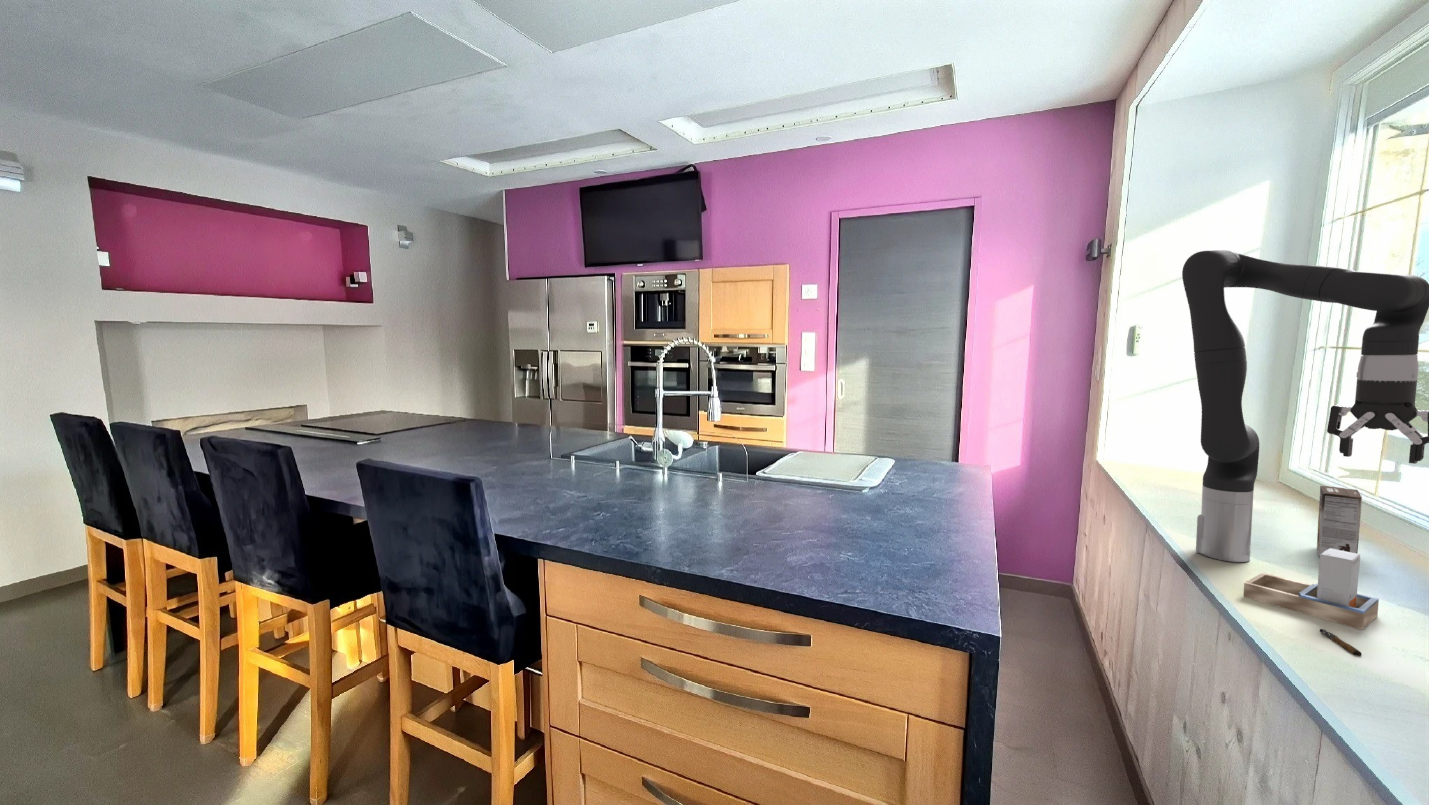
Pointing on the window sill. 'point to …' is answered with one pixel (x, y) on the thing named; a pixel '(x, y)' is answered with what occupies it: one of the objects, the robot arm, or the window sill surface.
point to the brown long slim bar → (1341, 643)
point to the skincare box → (1338, 577)
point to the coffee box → (1338, 519)
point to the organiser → (1310, 600)
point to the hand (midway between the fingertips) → (1378, 459)
